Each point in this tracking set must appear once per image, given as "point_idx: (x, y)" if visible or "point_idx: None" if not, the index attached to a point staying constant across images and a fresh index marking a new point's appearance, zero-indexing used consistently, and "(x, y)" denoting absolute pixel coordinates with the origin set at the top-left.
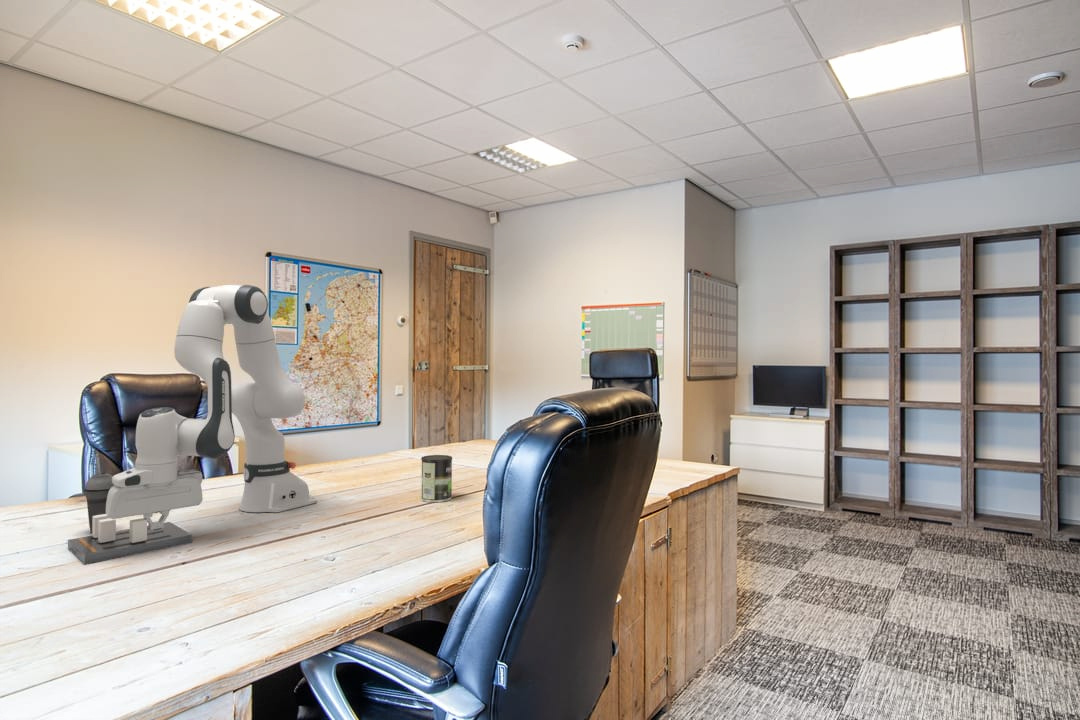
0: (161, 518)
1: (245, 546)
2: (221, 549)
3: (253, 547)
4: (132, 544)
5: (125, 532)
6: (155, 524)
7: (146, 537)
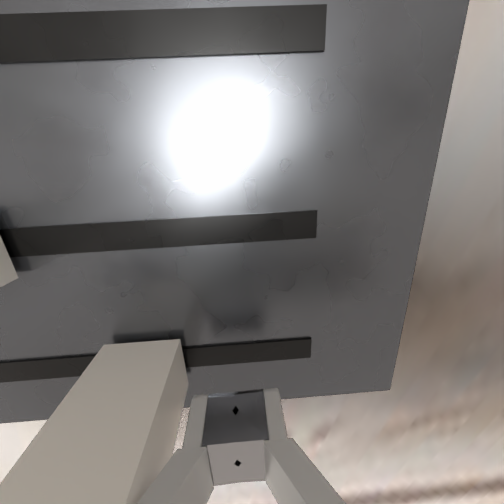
0: (283, 492)
1: (449, 482)
2: (389, 473)
3: (454, 497)
4: None
5: (70, 53)
6: (226, 473)
7: (182, 397)
